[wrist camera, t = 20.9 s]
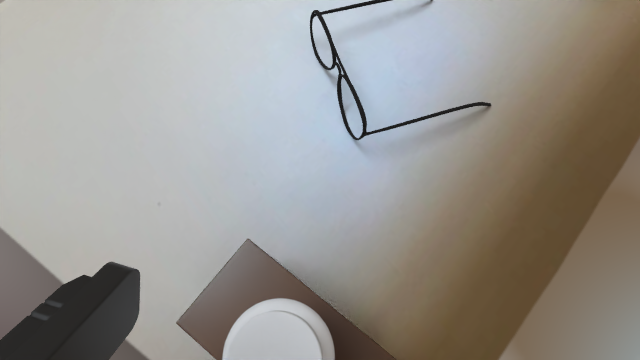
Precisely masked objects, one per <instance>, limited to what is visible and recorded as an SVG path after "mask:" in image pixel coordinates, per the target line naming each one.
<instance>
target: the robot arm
mask: <svg viewBox="0 0 640 360" xmlns="http://www.w3.org/2000/svg"><path fill="white" fill-rule="evenodd" d="M139 301H140V272H139V270H137V269H134V268H131V267H127V266H124V265H121V264H118V263H114V262H109V263H107V264H106V265H104V266H103V267H102V268H101V269H100V270H99V271H98V272H97V273H96V274H95V275H94V276H93V277H89V276H86V275H82V276H80V277H78V278H76V279H74V280H72V281H70V282H68V283H66V284H64V285H62V286H61V287H60V288H58V289H57V290H56V291H55V292H54V293H53V294H52V295H51V296H50V297H48V298H47V299H46V300H45V302H44V303H42V304H40V305H39V306H38V307H37V308H36V309H35V310H34V311H32V313H31V315H30V316H27V317H26V318H25V319H24V320H22V321H21V322H20V323H19V324H18V325H17V326H16V327H15V328H13V329H12V330H11V331H10V332H9V333H8V334H7V335H5V336H4V337H3V338H2V339H1V340H0V360H109V359H110V357H111V356H112V355H113V354H114V352H115V351H116V350H117V348H118V347H119V346H120V345H121V343H122V342H123V341H124V340H125V338H126V337H127V336H128V334H129V333H130V332H131V330H132V329H133V327H134V325H135V323H136V320H137V317H138V314H139Z"/></svg>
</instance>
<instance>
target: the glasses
mask: <svg viewBox="0 0 640 360" xmlns="http://www.w3.org/2000/svg"><path fill="white" fill-rule="evenodd" d="M386 1H391V0H373V1H368V2H364V3H359V4H354V5H350V6H345V7H341V8H335V9H332V10H328V11H324V12H319V11H318V10H314V11H313V12H312V14H311V18H310V33H311V41H312V46H313V49H314V53H315V55H316V58H317V60H318V61H319V63H320V64H321V65H322V66H323V68H325V69H326V70H331V69H333V68H334V67H335V65H336V66H337V68H338V71H339V75H338V82H337V95H338V101H339V106H340V110H341V114H342V118H343V121H344V124H345V126H346V128H347V130H348V132H349V134H350V135H351V136H352V137H353V138H354V139H355V140H360V139H361V138H363V137H364V136H366V135H370V134H374V133H378V132H382V131H386V130H389V129H393V128H397V127H400V126H404V125H407V124H411V123H414V122H418V121H421V120H425V119H428V118H432V117H435V116H439V115H442V114H446V113H449V112H453V111H457V110H460V109H464V108H469V107H473V106H491V104H490V103H485V102H477V103H472V104H467V105H463V106H459V107H456V108H452V109H448V110H445V111H441V112H438V113H434V114H431V115H427V116H424V117H420V118H417V119H413V120H410V121H406V122H403V123H400V124H396V125H393V126H389V127H386V128H382V129H379V130H375V131H372V132H366V126H367V121H366V116H365V112H364V110H363V107H362V105H361V102H360V100H359V97H358V95H357V93H356V91H355V89H354V87H353V85H352V84H351V82H350V80H349V78H348V76H347V73H346V71H345V69H344V67H343V65H342V63H341V61H340V58H339V56H338V53H337V51H336V49H335V46H334V44H333V41H332V38H331V35H330V33H329V30H328V28H327V25H326V23H325V21H324V19H323V17H322V15H323V14H328V13H333V12H338V11H343V10H348V9H352V8H357V7H362V6H366V5H371V4H376V3H381V2H386ZM314 13H315V14H314ZM315 16H318V18H319V20H320V22H321V24H322V26H323V28H324V30H325V33H326V35H327V38H328V40H329V43H330V47H331V51H332V57H333V64H332V67H331V68H328V67H327V66H326V65H325V64H324V63H323V62H322V61H321V59H320V57H319V55H318V53H317V50H316V47H315V43H314V39H313V33H312V21H313V18H314V17H315ZM336 57H337V60H338V62H339V64H340V66H341V68H342V71H343V73H344V75H342V74H341V68H340V66H339V64H338V63H337V62H336ZM342 77H343V78H344V79H345V80H346V82H347V84H348V85H349V87H350V90H351V92H352V94H353V96H354V99H355V101H356V103H357V106H358V109H359V112H360V115H361V118H362V123H363V132H362V135H361V136H360V137H359V138H356V137H355V136H354V135H353V133H352V132H351V130H350V128H349V126H348V123H347V120H346V117H345V113H344V108H343V103H342V92H341V79H342Z"/></svg>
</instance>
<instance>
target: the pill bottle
mask: <svg viewBox="0 0 640 360" xmlns="http://www.w3.org/2000/svg"><path fill="white" fill-rule="evenodd" d="M222 360H335V351H334V344H333V340H332V337H331V334H330V332H329V329H328V327H327V326H326V324H325V322H324V321H323V320H322V318H321V317H320V316H319V315H318V314H317V313H316V312H315V311H314V310H313V309H311V308H310V307H308V306H307V305H305V304H303V303H301V302H298V301H295V300H292V299H285V298H277V299H270V300H265V301H262V302H260V303H257V304H255V305H254V306H252V307H251V308H249V309H248V310H246V311H245V312H244V313H243V314H242V315H241V316H240V317H239V318H238V319H237V321H236V322H235V323H234V325H233V326H232V328H231V330H230V332H229V334H228V336H227V339H226V341H225V345H224V349H223V357H222Z"/></svg>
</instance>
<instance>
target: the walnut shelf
mask: <svg viewBox="0 0 640 360" xmlns="http://www.w3.org/2000/svg"><path fill="white" fill-rule="evenodd" d="M277 298H285V299H292V300H295V301H298V302H301V303H303V304H305V305H307V306H308V307H310V308H311V309H313V310H314V311H315V312H316V313H317V314H318V315H319V316H320V317H321V318H322V320H323V321H324V322H325V324H326V326H327V327H328V329H329V332H330V334H331V337H332V340H333V344H334V351H335V360H396V359H395V358H394V357H393V356H391V355H390V354H389V353H388V352H387V351H385V350H384V349H383V348H382V347H380V346H379V345H378V344H377V343H376V342H374V341H373V340H372V339H371V338H369V337H368V336H367V335H366V334H364V333H363V332H362V331H361V330H360V329H358V328H357V327H356V326H355V325H353V324H352V323H351V322H350V321H349V320H347V319H346V318H345V317H344V316H342V315H341V314H340V313H339V312H338V311H336V310H335V309H334V308H333V307H331V306H330V305H329V304H328V303H327V302H325V301H324V300H323V299H322V298H320V297H319V296H318V295H317V294H316V293H314V292H313V291H312V290H311V289H309V288H308V287H307V286H306V285H305V284H303V283H302V282H301V281H300V280H298V279H297V278H296V277H295V276H294V275H292V274H291V273H290V272H289V271H287V270H286V269H285V268H284V267H283V266H281V265H280V264H279V263H278V262H276V261H275V260H274V259H273V258H272V257H270V256H269V255H268V254H267V253H265V252H264V251H263V250H262V249H261V248H259V247H258V246H257V245H256V244H254V243H253V242H252V241H251V240H250V239H247V240H246V241H245V242H244V243H243V245H242V246H241V247H240V248H239V249H238V251H237V252H236V253H235V254H234V255H233V256H232V258H231V259H230V260H229V261H228V262H227V263H226V265H225V266H224V267H223V268H222V269H221V271H220V272H219V273H218V274H217V275H216V276H215V278H214V279H213V280H212V281H211V282H210V283H209V285H208V286H207V287H206V288H205V289H204V290H203V292H202V293H201V294H200V295H199V296H198V298H197V299H196V300H195V301H194V302H193V303H192V305H191V306H190V307H189V308H188V309H187V310H186V312H185V313H184V314H183V315H182V316H181V318H180V319H179V320H178V321H177V324H178V325H179V326H180V327H181V328H182V329H183V330H184V331H185V332H186V333H188V334H189V335H190V336H191V337H192V338H193V339H194V340H195V341H196V342H198V343H199V344H200V345H201V346H202V347H203V348H204V349H205V350H206V351H208V352H209V353H210V354H211V355H212V356H213V357H214V358H215V359H216V360H222V357H223V349H224V345H225V341H226V339H227V336H228V334H229V332H230V330H231V328H232V326H233V325H234V323H235V322H236V321H237V319H238V318H239V317H240V316H241V315H242V314H243V313H244V312H245V311H246V310H248V309H249V308H251V307H252V306H254V305H255V304H257V303H260V302H262V301H265V300H270V299H277Z"/></svg>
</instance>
